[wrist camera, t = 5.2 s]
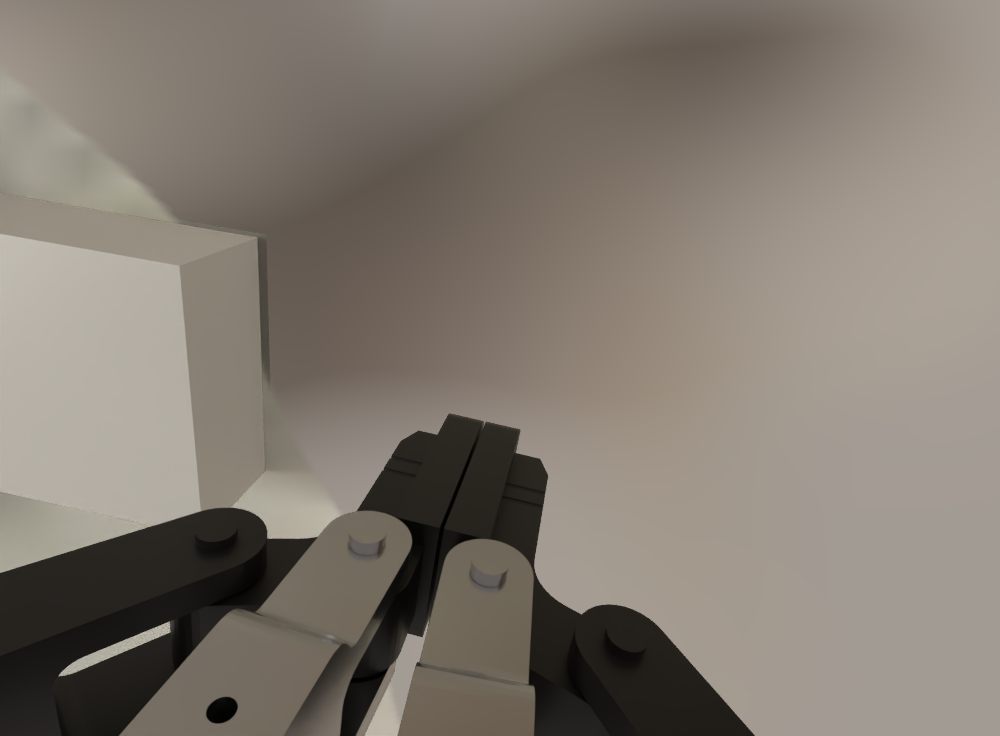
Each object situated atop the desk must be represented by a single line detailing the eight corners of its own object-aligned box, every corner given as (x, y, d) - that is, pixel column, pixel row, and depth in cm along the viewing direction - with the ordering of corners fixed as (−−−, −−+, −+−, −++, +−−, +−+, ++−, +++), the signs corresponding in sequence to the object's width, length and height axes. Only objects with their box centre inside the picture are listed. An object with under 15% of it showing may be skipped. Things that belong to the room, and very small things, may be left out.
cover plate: (-136, 165, 14) (-310, 178, 12) (266, 234, 13) (179, 265, 11) (-70, 392, 17) (-202, 446, 14) (272, 463, 16) (203, 537, 13)
